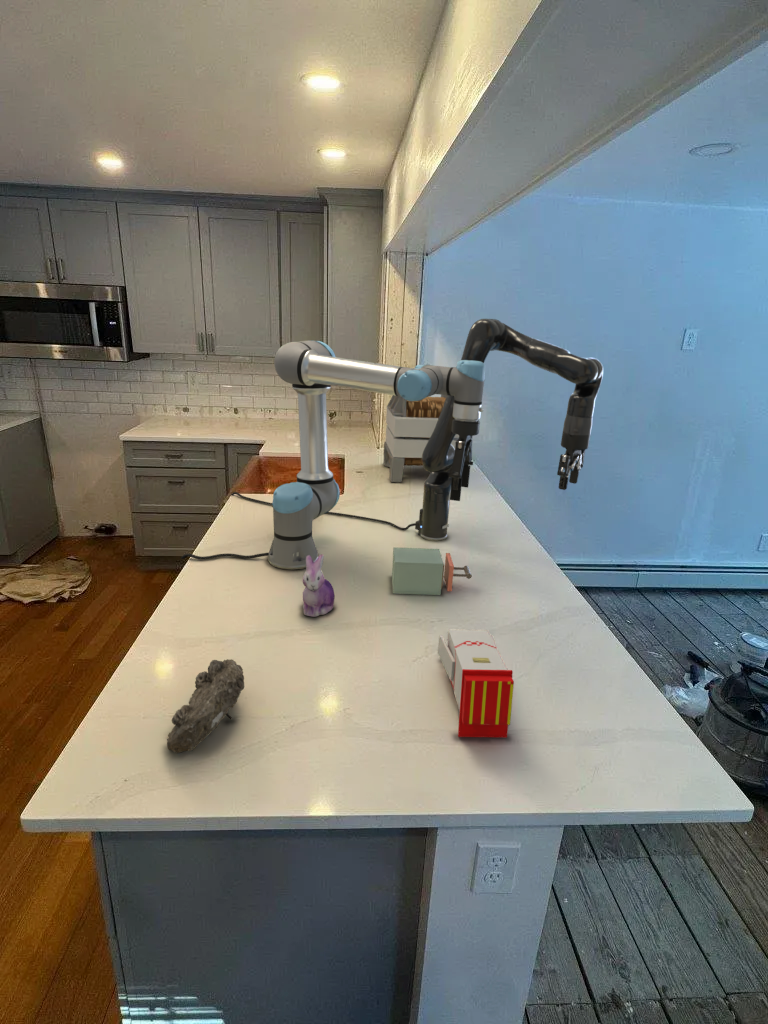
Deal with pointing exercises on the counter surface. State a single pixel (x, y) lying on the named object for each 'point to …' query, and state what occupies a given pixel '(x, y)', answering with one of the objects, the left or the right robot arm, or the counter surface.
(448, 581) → the drawer
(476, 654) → the toy
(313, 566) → the figurine
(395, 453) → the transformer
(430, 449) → the right robot arm
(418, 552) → the cabinet
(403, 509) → the counter surface
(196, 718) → the fossil
